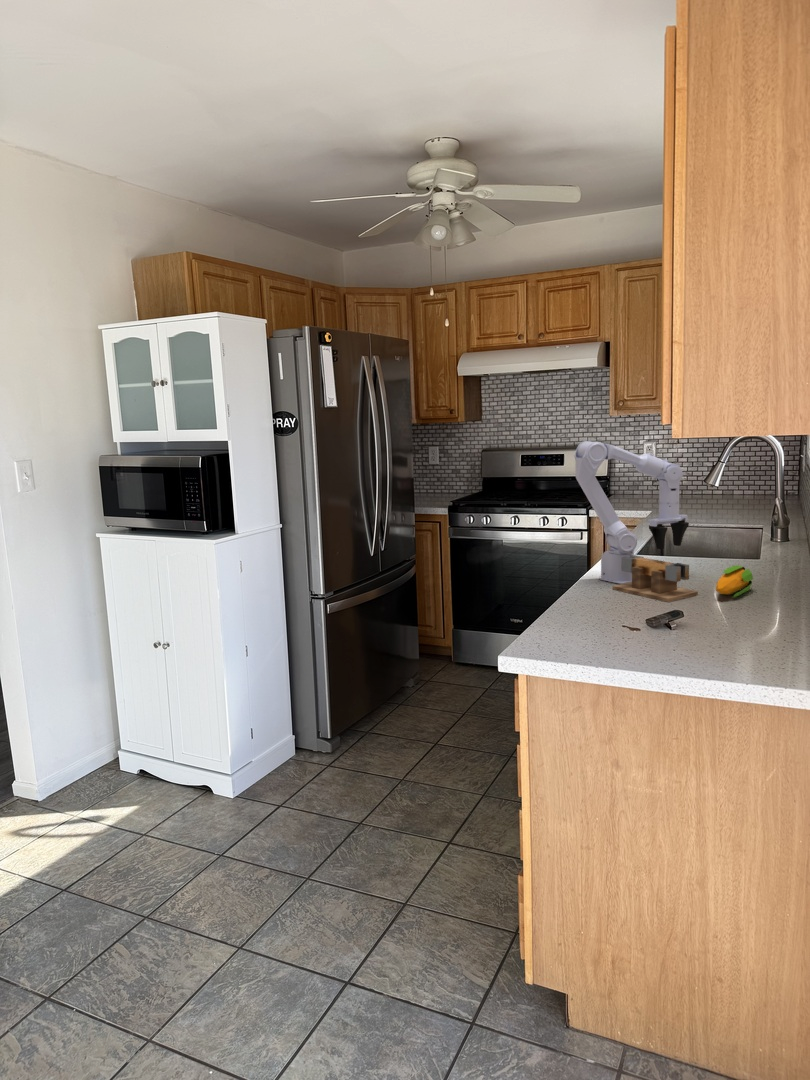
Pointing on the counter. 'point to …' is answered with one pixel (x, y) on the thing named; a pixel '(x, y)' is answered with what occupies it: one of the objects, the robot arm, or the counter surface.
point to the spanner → (656, 567)
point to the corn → (734, 581)
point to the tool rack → (654, 586)
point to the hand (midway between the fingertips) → (668, 547)
